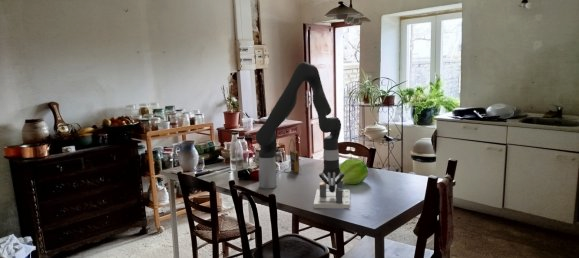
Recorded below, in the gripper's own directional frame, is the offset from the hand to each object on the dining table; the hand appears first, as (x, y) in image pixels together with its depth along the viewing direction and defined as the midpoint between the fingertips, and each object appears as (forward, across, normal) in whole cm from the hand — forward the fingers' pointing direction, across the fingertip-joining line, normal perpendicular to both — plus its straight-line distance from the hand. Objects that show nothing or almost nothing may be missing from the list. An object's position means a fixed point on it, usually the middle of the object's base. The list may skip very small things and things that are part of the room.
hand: (332, 192), depth 200 cm
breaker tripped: (+2, +5, 0) cm, 5 cm away
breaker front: (+2, -4, +8) cm, 9 cm away
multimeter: (+4, +29, -50) cm, 58 cm away
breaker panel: (+4, 0, 0) cm, 4 cm away
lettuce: (+5, -9, -27) cm, 29 cm away
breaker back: (+2, -4, -8) cm, 9 cm away
